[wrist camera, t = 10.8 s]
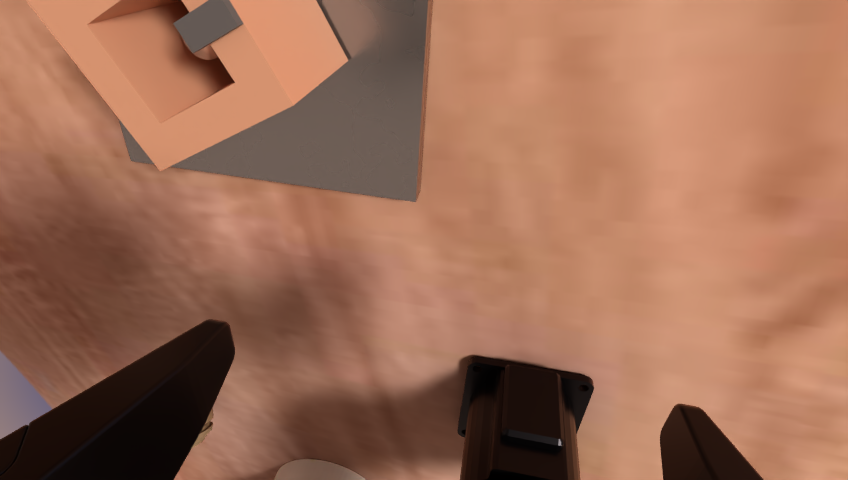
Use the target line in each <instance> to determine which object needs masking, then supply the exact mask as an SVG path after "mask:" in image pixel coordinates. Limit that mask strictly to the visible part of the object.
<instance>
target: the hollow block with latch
mask: <svg viewBox="0 0 848 480" xmlns="http://www.w3.org/2000/svg"><path fill="white" fill-rule="evenodd" d="M27 3H28V4H29V5H30V6H31V8H32V9H33V10H34V11H35V13H36V14H37V15H38V17H39V18H40V19H41V20H42V22H43V23H44V24H45V25H46V27H47V28H48V29H49V31H50V32H51V33H52V34H53V36H54V37H55V38H56V39H57V41H58V42H59V43H60V45H61V46H62V47H63V48H64V50H65V51H66V52H67V53H68V55H69V56H70V57H71V59H72V60H73V61H74V62H75V64H76V65H77V66H78V67H79V69H80V70H81V71H82V73H83V74H84V75H85V76H86V78H87V79H88V80H89V81H90V83H91V84H92V85H93V87H94V88H95V89H96V90H97V92H98V93H99V94H100V95H101V97H102V98H103V99H104V101H105V102H106V103H107V104H108V106H109V107H110V108H111V109H112V111H113V112H114V113H115V115H116V116H117V117H118V118H119V120H120V121H121V122H122V123H123V125H124V126H125V127H126V129H127V130H128V131H129V132H130V134H131V135H132V136H133V137H134V139H135V140H136V141H137V142H138V144H139V145H140V146H141V148H142V149H143V150H144V151H145V153H146V154H147V155H148V156H149V158H150V159H151V160H152V162H153V163H154V164H155V165H156V167H157V168H158V169H159V170H160V171H162V170H164V169H166V168H168V167H170V166H172V165H174V164H176V163H178V162H180V161H182V160H184V159H186V158H188V157H190V156H192V155H194V154H196V153H198V152H200V151H202V150H204V149H206V148H208V147H210V146H212V145H215V144H217V143H219V142H221V141H223V140H225V139H227V138H229V137H231V136H233V135H235V134H237V133H239V132H241V131H243V130H245V129H247V128H249V127H251V126H253V125H255V124H257V123H259V122H261V121H263V120H265V119H267V118H269V117H271V116H273V115H275V114H277V113H279V112H281V111H283V110H285V109H287V108H289V107H292V106H294V105H295V104H296V103H297V102H298V101H300V100H301V99H302V98H303V97H305V96H306V95H307V94H308V93H309V92H311V91H312V90H313V89H314V88H316V87H317V86H318V85H319V84H320V83H322V82H323V81H324V80H325V79H327V78H328V77H329V76H330V75H332V74H333V73H334V72H335V71H336V70H338V69H339V68H340V67H341V66H343V65H344V64H345V63H346V62H347V61H348V59H347V57H346V55H345V53H344V51H343V50H342V48H341V46H340V44H339V42H338V40H337V38H336V36H335V35H334V33H333V31H332V29H331V27H330V25H329V23H328V21H327V19H326V18H325V16H324V14H323V12H322V10H321V8H320V6H319V4H318V3H317V1H316V0H27ZM182 38H183V39H184V41H185V42H186V43H187V45H188V46H189V48H190V49H191V51H192V52H193V53H195V52H197V51H199V50H201V49H203V48H204V47H206V46H208V45H209V44H210V45H211V46H212V48H213V49H214V51H215V52H216V54H217V56H218V57H217V58H215V59H212V60H205V59H201V58H199V57H197V56H196V55H194V54H193V53H192V52H191V51H190V50H189V49H188V48H187V46H186V45H185V43H184V41H183V39H182Z"/></svg>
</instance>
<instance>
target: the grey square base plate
mask: <svg viewBox="0 0 848 480" xmlns="http://www.w3.org/2000/svg"><path fill="white" fill-rule="evenodd" d="M316 1H317V3H318V4H319V6H320V8H321V10H322V12H323V14H324V16H325V18H326V19H327V21H328V23H329V25H330V27H331V29H332V31H333V33H334V35H335V36H336V38H337V40H338V42H339V44H340V46H341V48H342V50H343V51H344V53H345V55H346V57H347V59H348V61H347V62H346V63H345V64H344V65H343V66H341V67H340V68H339V69H338V70H336V71H335V72H334V73H333V74H332V75H330V76H329V77H328V78H327V79H325V80H324V81H323V82H322V83H320V84H319V85H318V86H317V87H316V88H314V89H313V90H312V91H311V92H309V93H308V94H307V95H306V96H305V97H303V98H302V99H301V100H300V101H298V102H297V103H296V104H295V105H294V106H292V107H289V108H287V109H285V110H283V111H281V112H279V113H277V114H275V115H273V116H271V117H269V118H267V119H265V120H263V121H261V122H259V123H257V124H255V125H253V126H251V127H249V128H247V129H245V130H243V131H241V132H239V133H237V134H235V135H233V136H231V137H229V138H227V139H225V140H223V141H221V142H219V143H217V144H215V145H212V146H210V147H208V148H206V149H204V150H202V151H200V152H198V153H196V154H194V155H192V156H190V157H188V158H186V159H184V160H182V161H180V162H178V163H176V164H174V165H172V166H170V167H176V168H183V169H190V170H197V171H204V172H211V173H217V174H224V175H231V176H238V177H245V178H252V179H259V180H266V181H273V182H280V183H287V184H294V185H301V186H308V187H315V188H322V189H329V190H335V191H342V192H349V193H356V194H363V195H370V196H377V197H384V198H391V199H398V200H405V201H412V202H416V201H417V198H418V195H419V193H420V187H421V172H422V157H423V141H424V126H425V111H426V96H427V80H428V65H429V50H430V34H431V19H432V4H433V0H316ZM182 39H183V38H182ZM183 41H184V39H183ZM184 43H185V45H186V46H187V48H188V49H189V50H190V51H191V49H190V48H189V46H188V45H187V43H186V42H185V41H184ZM191 52H192V51H191ZM192 53H193V52H192ZM193 54H194V55H196V56H197V57H199V58H201V59H205V60H212V59H215V58H217V57H218V56H217V54H216V52H215V51H214V49H213V48H212V46H211V45H210V44H209V45H208V46H206V47H204V48H203V49H201V50H199V51H197V52H195V53H193ZM118 119H119V118H118ZM119 122H120V125H121V129H122V132H123V135H124V139H125V142H126V146H127V149H128V152H129V156H130V159H131V161H134V162H141V163H148V164H154V163H153V162H152V160H151V159H150V158H149V156H148V155H147V154H146V153H145V151H144V150H143V149H142V148H141V146H140V145H139V144H138V142H137V141H136V140H135V139H134V137H133V136H132V135H131V134H130V132H129V131H128V130H127V129H126V127H125V126H124V125H123V123H122V122H121V121H120V120H119Z"/></svg>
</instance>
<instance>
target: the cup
mask: <svg viewBox="0 0 848 480" xmlns="http://www.w3.org/2000/svg"><path fill="white" fill-rule="evenodd" d="M274 480H366V479H365V478H363V477H362V476H360V475H359V474H357V473H355V472H354V471H352V470H350V469H348V468H346V467H343V466H341V465H338V464H335V463H331V462H327V461H322V460H315V459H300V460H294V461H291V462H288V463H286V464H284V465H283V466H281V467H280V469H279V470H278V472H277V474H276V476H275V478H274Z"/></svg>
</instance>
